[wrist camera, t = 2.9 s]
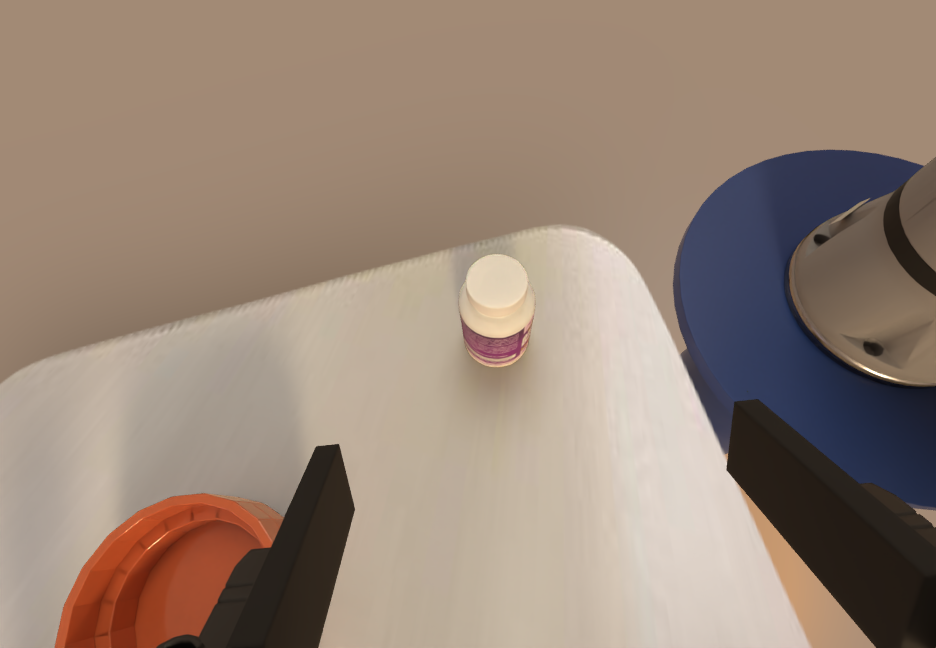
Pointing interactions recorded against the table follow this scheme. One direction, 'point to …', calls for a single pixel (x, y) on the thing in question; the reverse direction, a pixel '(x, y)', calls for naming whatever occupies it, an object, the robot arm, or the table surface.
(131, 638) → the bowl
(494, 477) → the table surface
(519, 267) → the pill bottle
